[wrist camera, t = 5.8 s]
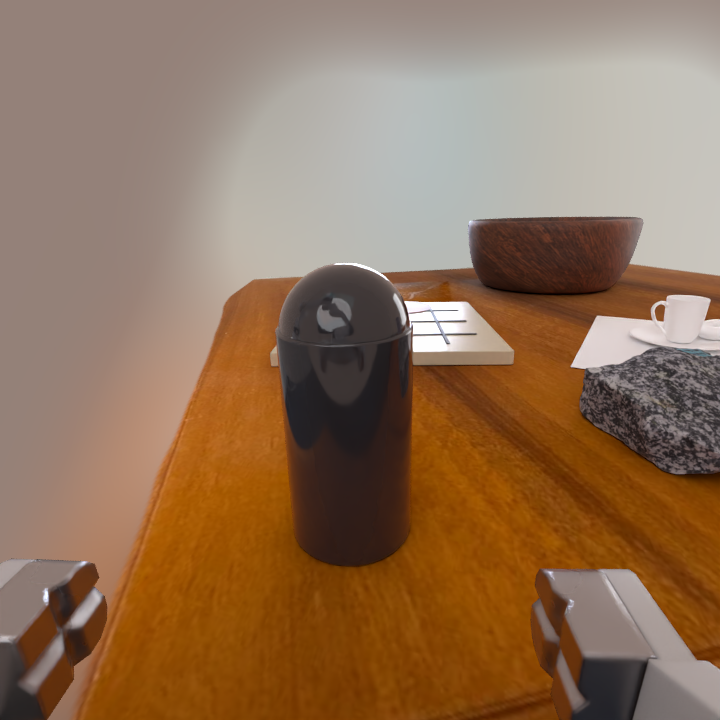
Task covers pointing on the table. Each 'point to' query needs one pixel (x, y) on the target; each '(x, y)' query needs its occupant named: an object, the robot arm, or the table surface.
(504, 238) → the wooden bowl
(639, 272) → the table surface
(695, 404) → the rock
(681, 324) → the teacup and saucer
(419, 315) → the board
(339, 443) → the dome-topped canister
